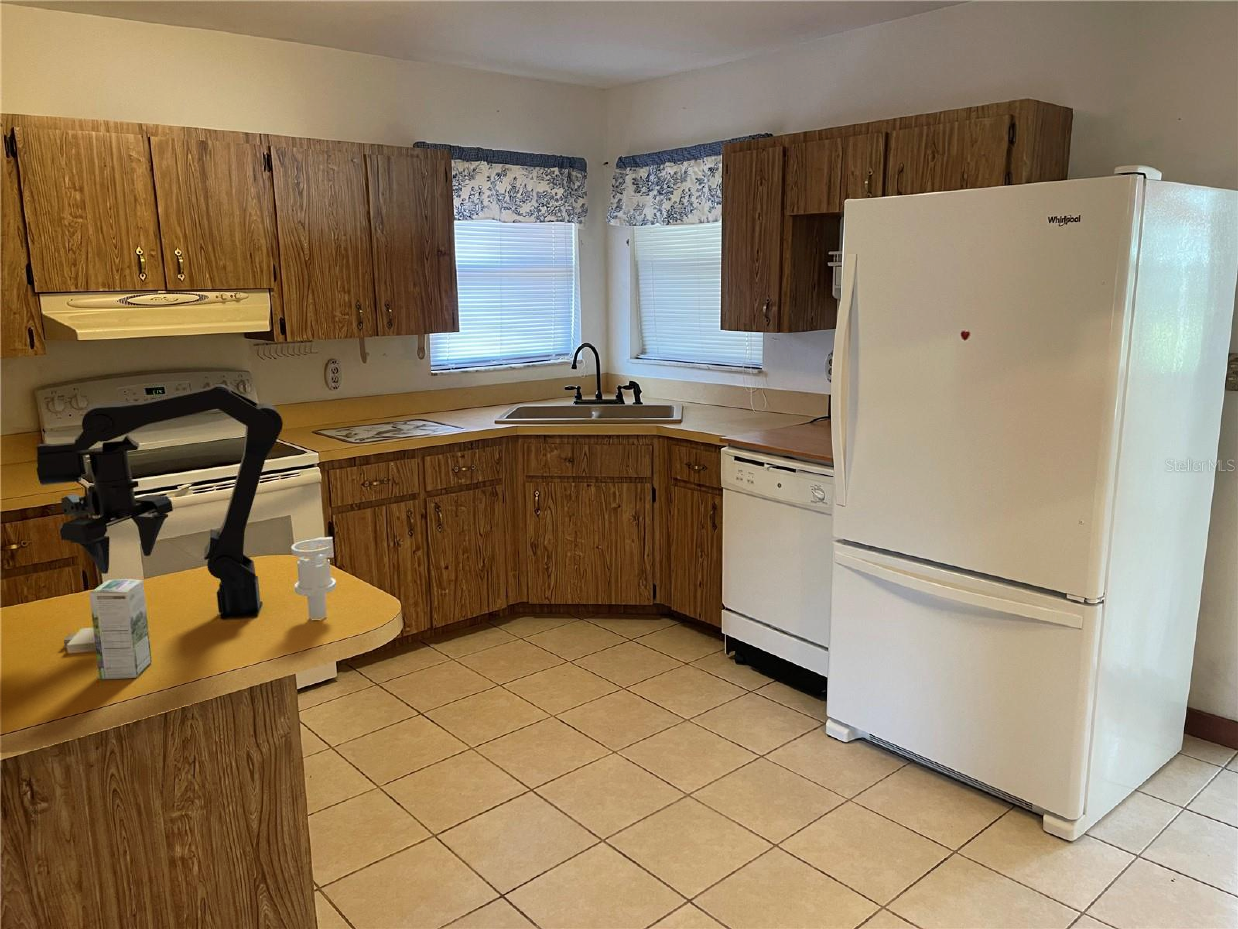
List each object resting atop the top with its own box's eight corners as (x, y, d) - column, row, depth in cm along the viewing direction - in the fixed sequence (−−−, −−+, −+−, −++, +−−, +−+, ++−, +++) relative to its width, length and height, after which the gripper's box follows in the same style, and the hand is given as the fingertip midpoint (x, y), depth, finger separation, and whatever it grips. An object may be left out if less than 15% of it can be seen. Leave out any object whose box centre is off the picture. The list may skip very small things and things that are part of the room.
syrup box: (115, 664, 144) (104, 579, 141) (153, 662, 145) (143, 578, 141) (98, 680, 138) (86, 592, 135) (138, 678, 139) (127, 591, 136)
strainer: (338, 622, 161) (332, 543, 157) (296, 627, 159) (289, 546, 155) (338, 608, 167) (332, 531, 164) (298, 612, 165) (291, 535, 162)
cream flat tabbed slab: (139, 631, 157) (138, 623, 156) (127, 648, 150) (126, 639, 150) (74, 637, 154) (73, 629, 154) (59, 654, 148) (58, 645, 147)
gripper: (119, 463, 163) (132, 544, 167) (26, 489, 146) (43, 579, 149) (168, 465, 160) (181, 548, 164) (79, 492, 143) (95, 584, 146)
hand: (126, 564), depth 156 cm, fingers open, 9 cm apart
